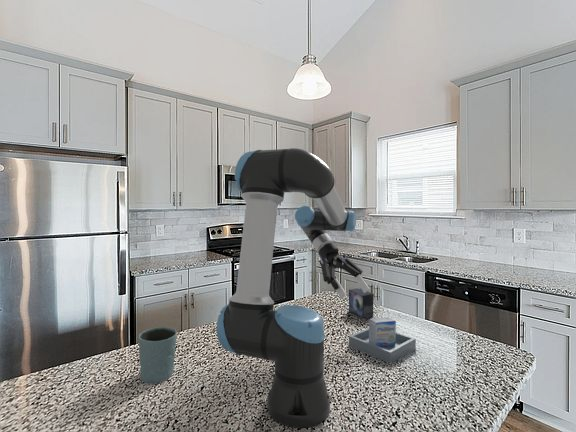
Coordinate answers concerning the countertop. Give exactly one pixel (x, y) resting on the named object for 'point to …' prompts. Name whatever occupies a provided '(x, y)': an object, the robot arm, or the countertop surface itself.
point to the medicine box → (382, 331)
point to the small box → (361, 303)
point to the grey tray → (383, 353)
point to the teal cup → (157, 354)
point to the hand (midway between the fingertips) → (356, 293)
